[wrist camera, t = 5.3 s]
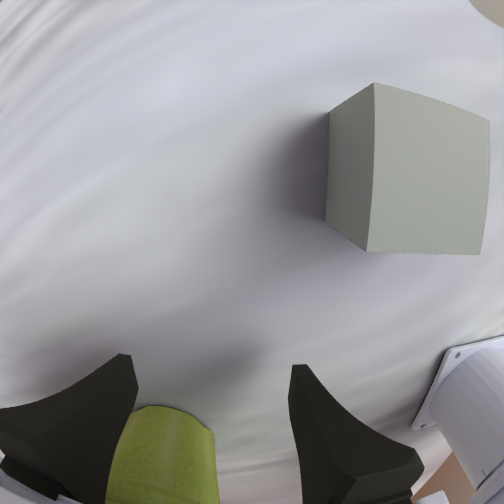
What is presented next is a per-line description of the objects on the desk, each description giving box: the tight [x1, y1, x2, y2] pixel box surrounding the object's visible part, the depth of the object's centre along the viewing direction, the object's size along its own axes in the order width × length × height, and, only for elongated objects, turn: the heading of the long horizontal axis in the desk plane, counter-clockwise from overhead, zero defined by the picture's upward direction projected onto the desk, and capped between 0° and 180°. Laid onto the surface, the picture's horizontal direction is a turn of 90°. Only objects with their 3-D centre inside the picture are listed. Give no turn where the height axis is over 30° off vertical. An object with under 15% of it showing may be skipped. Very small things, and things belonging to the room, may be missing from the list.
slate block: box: [325, 83, 490, 255], centre depth 10 cm, size 5×5×5 cm
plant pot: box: [105, 406, 220, 504], centre depth 12 cm, size 9×9×9 cm
